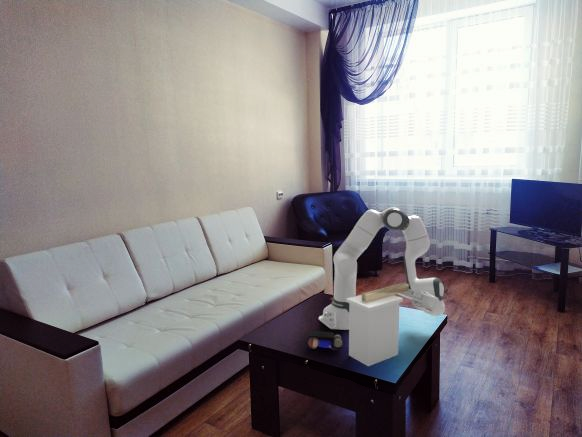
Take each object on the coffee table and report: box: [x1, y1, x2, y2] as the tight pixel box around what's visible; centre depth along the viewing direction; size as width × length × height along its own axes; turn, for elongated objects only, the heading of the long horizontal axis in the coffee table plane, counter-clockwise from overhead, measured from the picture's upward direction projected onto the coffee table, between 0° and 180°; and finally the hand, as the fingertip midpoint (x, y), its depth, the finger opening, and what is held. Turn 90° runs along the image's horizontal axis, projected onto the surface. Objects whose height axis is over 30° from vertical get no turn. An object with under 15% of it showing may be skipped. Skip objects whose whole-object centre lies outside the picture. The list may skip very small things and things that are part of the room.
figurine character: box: [307, 330, 343, 351], centre depth 193 cm, size 7×8×15 cm
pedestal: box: [346, 294, 404, 367], centre depth 184 cm, size 14×20×26 cm
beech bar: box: [361, 282, 409, 302], centre depth 185 cm, size 3×26×3 cm, turn 124°
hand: (404, 290), depth 192 cm, fingers open, 8 cm apart
